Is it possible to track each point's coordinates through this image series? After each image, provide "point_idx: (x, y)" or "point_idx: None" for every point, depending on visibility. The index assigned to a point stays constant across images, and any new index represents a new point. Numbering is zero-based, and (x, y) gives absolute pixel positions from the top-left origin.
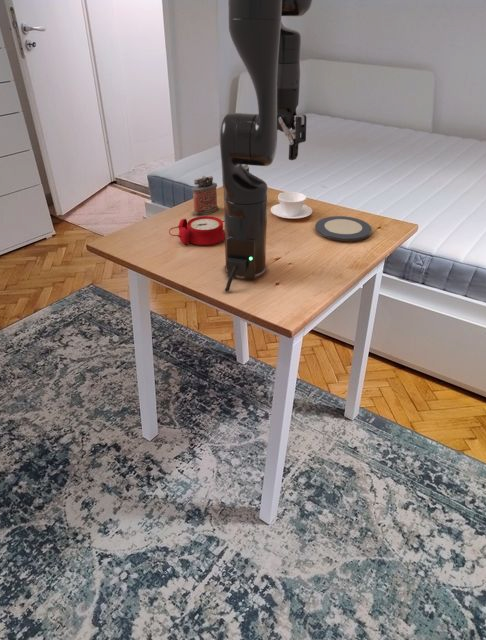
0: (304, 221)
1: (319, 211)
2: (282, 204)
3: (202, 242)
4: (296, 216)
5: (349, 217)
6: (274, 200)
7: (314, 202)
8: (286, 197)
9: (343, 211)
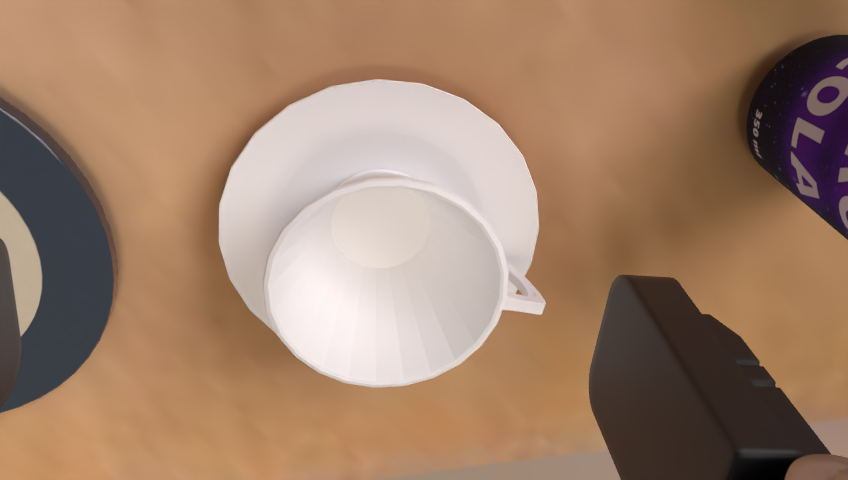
0: None
1: (280, 382)
2: (401, 176)
3: None
4: (305, 202)
5: (6, 400)
6: None
7: (404, 458)
8: (469, 298)
9: (174, 471)
